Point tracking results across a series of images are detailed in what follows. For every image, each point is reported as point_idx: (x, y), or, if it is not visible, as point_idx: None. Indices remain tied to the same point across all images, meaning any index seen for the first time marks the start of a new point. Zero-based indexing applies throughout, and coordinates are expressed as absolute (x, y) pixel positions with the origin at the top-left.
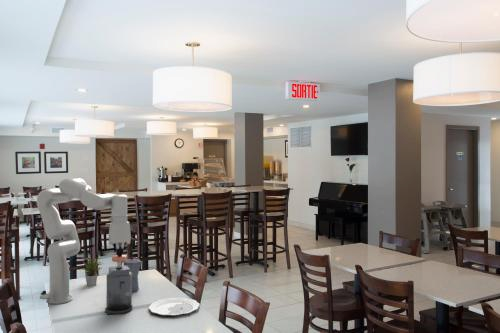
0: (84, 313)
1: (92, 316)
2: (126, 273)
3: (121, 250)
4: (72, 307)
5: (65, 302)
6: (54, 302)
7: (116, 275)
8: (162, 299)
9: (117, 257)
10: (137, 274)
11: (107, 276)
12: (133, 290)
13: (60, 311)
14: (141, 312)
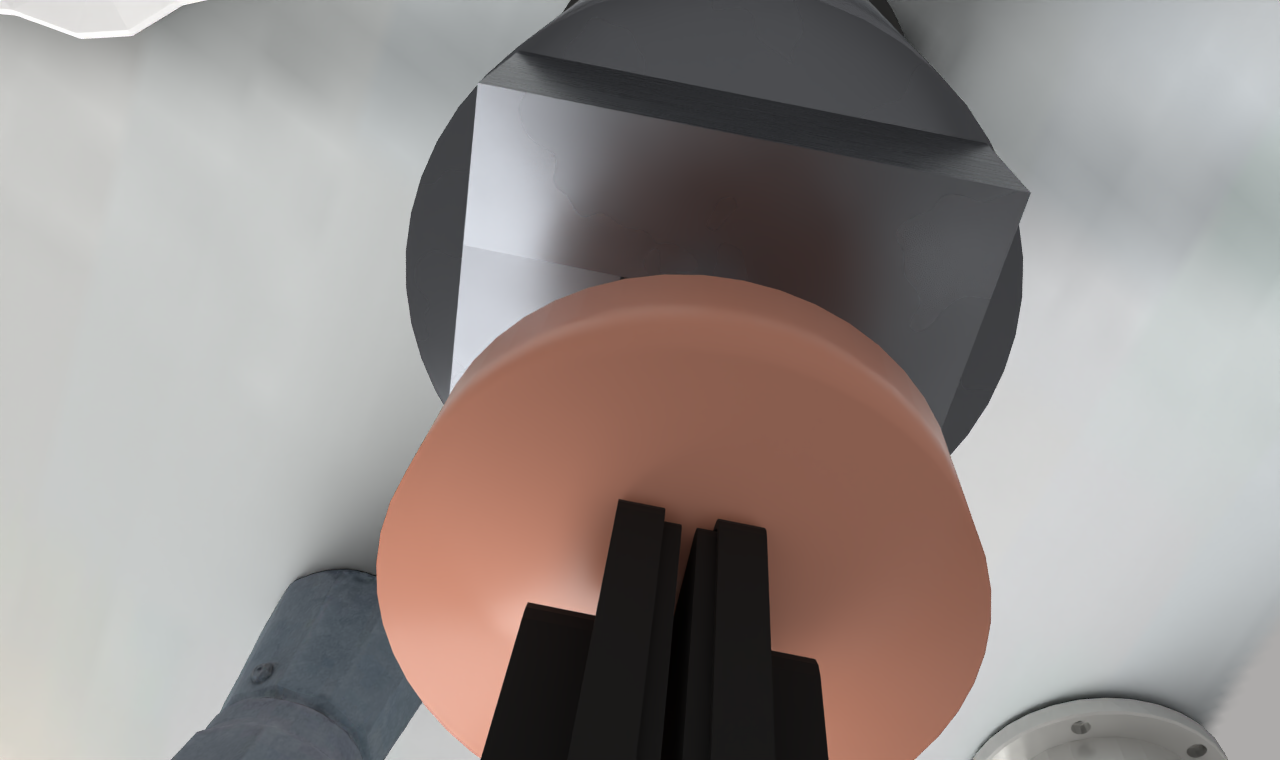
0: (1119, 276)
1: (1108, 104)
2: (598, 80)
3: (605, 711)
4: (1107, 542)
5: (1090, 699)
6: (1204, 737)
7: (876, 131)
8: (90, 25)
9: (848, 475)
10: (202, 731)
11: (1017, 311)
12: (343, 583)
13: (1276, 507)
14: None
